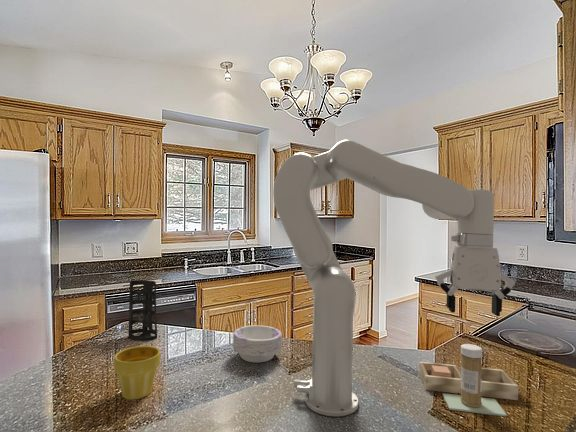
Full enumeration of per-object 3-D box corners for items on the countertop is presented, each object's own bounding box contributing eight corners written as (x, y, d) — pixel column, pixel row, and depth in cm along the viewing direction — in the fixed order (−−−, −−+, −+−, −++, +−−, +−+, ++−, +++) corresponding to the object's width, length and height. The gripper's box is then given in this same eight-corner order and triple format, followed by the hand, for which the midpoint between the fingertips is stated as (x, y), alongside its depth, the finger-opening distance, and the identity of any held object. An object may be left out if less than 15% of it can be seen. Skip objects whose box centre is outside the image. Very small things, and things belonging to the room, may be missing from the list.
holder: (122, 340, 121) (124, 283, 121) (132, 333, 129) (133, 279, 129) (154, 341, 121) (155, 283, 121) (162, 333, 129) (163, 280, 129)
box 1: (425, 389, 90) (425, 376, 90) (419, 373, 99) (419, 361, 99) (465, 394, 88) (465, 380, 88) (455, 377, 97) (455, 365, 97)
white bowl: (290, 360, 107) (291, 334, 107) (246, 371, 98) (247, 343, 98) (265, 345, 120) (266, 322, 120) (224, 353, 111) (225, 329, 111)
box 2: (475, 395, 87) (475, 381, 87) (464, 378, 97) (464, 365, 97) (518, 400, 85) (518, 385, 85) (502, 382, 95) (502, 369, 95)
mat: (449, 409, 80) (449, 407, 80) (442, 394, 87) (442, 393, 87) (506, 416, 78) (506, 414, 78) (494, 400, 85) (494, 399, 85)
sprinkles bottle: (485, 404, 82) (486, 347, 82) (475, 410, 79) (475, 351, 80) (466, 396, 86) (467, 342, 86) (456, 401, 83) (456, 345, 83)
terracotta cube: (434, 386, 92) (434, 371, 92) (431, 379, 96) (431, 365, 96) (450, 388, 91) (450, 373, 91) (446, 381, 95) (447, 366, 95)
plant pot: (130, 409, 78) (131, 365, 78) (104, 396, 83) (105, 355, 83) (168, 390, 87) (169, 351, 87) (142, 379, 92) (143, 342, 92)
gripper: (440, 240, 81) (438, 314, 81) (522, 243, 78) (520, 320, 77) (433, 239, 88) (431, 306, 88) (508, 242, 85) (506, 312, 85)
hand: (473, 312), depth 83 cm, fingers open, 9 cm apart
